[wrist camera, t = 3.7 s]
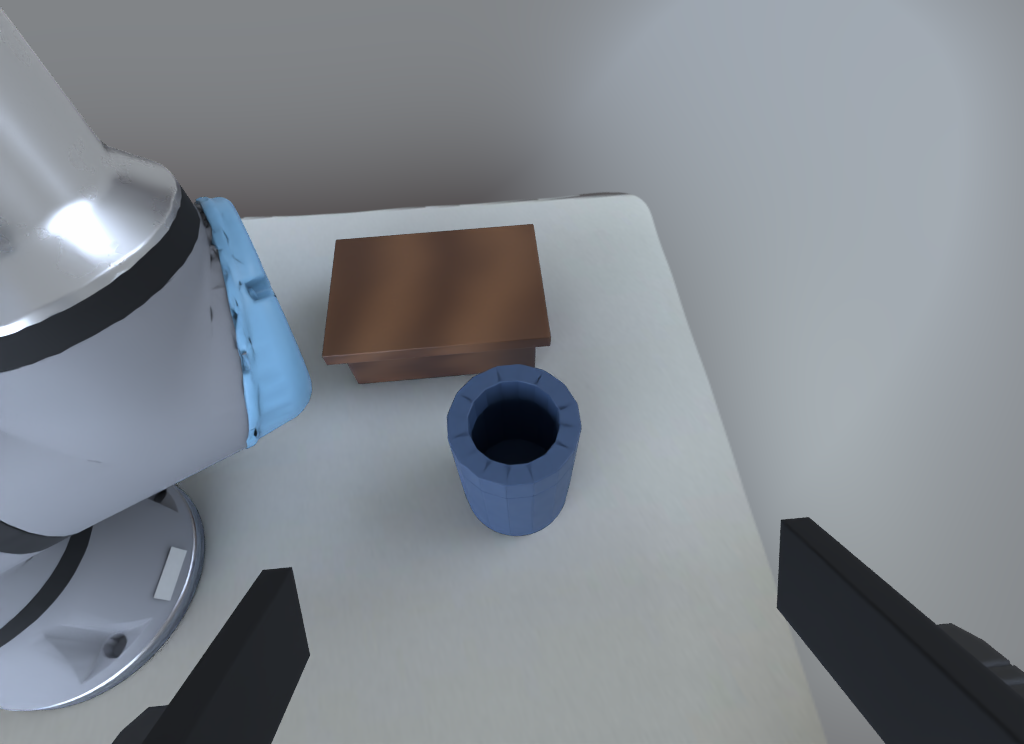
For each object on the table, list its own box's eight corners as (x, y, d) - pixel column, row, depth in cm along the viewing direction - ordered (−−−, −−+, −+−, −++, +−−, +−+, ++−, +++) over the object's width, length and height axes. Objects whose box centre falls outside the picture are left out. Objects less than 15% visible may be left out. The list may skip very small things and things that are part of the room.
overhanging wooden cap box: (345, 395, 44) (321, 356, 38) (355, 285, 50) (335, 239, 45) (548, 378, 44) (551, 337, 39) (532, 271, 50) (533, 223, 45)
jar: (468, 541, 37) (448, 491, 28) (464, 442, 41) (445, 370, 32) (574, 530, 37) (590, 478, 28) (559, 434, 41) (570, 359, 32)
